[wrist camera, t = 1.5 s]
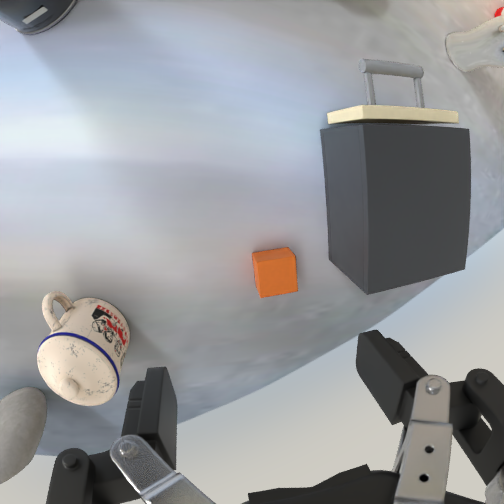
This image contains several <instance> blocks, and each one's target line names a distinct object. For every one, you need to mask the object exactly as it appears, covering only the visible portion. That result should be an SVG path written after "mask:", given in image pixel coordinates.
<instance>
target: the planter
mask: <svg viewBox="0 0 504 504" xmlns="http://www.w3.org/2000/svg"><path fill="white" fill-rule="evenodd" d="M46 417H47V403H46V398H45V396H44V394H43V393H42V392H41V391H40V390H39V389H37V388H34V387H25V388H21V389H18V390H16V391H14V392H12V393H10V394H9V395H7V396H6V397H4V398H3V399H2V400H1V401H0V484H1V483H3V482H5V481H7V480H9V479H10V478H12V477H13V476H15V475H16V474H18V473H19V472H20V471H21V470H23V469H24V468H25V466H27V465H28V464H29V463H30V462H31V460H32V458H33V457H34V455H35V452H36V450H37V447H38V445H39V442H40V439H41V437H42V434H43V431H44V427H45V423H46Z"/></svg>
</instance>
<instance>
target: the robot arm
mask: <svg viewBox="0 0 504 504" xmlns="http://www.w3.org/2000/svg"><path fill="white" fill-rule="evenodd" d="M76 1H77V0H0V20H1V21H3V22H4V23H6V24H8V25H10V26H11V27H13V28H14V29H15V30H17V31H18V32H20V33H22V34H26V35H33V34H38V33H41V32H43V31H46V30H48V29H49V28H51V27H53V26H54V25H56V24H57V23H58V22H60V21H61V20H62V19H63V18H64V17H65V16H66V15H67V14H68V13H69V12H70V10H71V9H72V8H73V6H74V5H75V3H76ZM356 368H357V371H358V374H359V376H360V377H361V379H362V380H363V382H364V383H365V385H366V386H367V388H368V389H369V391H370V392H371V394H372V395H373V397H374V398H375V400H376V401H377V403H378V404H379V406H380V407H381V409H382V410H383V412H384V413H385V415H386V416H387V418H388V420H389V421H390V422H391V424H392V425H394V424H397V423H399V422H402V423H403V424H404V427H403V430H402V434H401V439H400V443H399V447H398V451H397V455H396V459H395V463H394V466H393V469H392V471H383V470H375V471H374V470H373V471H370V469H369V467H368V466H367V464H366V465H362V466H360V467H356V468H353V469H350V470H347V471H344V472H341V473H338V474H336V475H335V476H333V477H331V478H329V479H327V480H325V481H323V482H321V483H319V484H318V485H315V486H313V487H307V488H276V489H271V490H266V491H260V492H253V493H248V497H249V501H247V502H244V503H242V504H504V385H503V384H502V383H501V382H500V381H499V380H498V379H497V378H496V377H495V376H494V375H493V374H492V373H491V372H490V371H488V370H485V369H473V370H471V371H470V372H469V373H468V374H467V377H466V379H465V381H458V382H451V383H448V381H446V379H444V378H443V377H441V376H438V375H428V374H427V373H426V371H425V370H424V369H423V368H422V367H421V366H420V365H419V364H418V363H417V362H416V361H415V360H414V359H413V357H411V356H410V354H409V353H408V352H407V351H405V349H404V348H403V347H402V346H401V345H400V344H399V342H396V341H394V340H393V339H391V338H386V339H385V338H384V337H383V336H382V334H381V333H380V332H379V331H378V330H372V331H368V332H364V333H360V334H359V336H358V346H357V357H356ZM481 415H483V416H484V418H485V419H486V420H487V421H488V423H489V424H490V426H491V428H492V431H491V430H490V429H489V428H488V426H487V425H486V423H485V422H484V421H483V420H482V419H481ZM176 434H177V400H176V395H175V392H174V389H173V386H172V383H171V379H170V376H169V373H168V370H167V368H166V367H155V368H148V369H147V373H146V378H145V381H137V382H136V383H135V385H134V386H133V387H132V389H131V390H130V395H129V401H128V404H127V409H126V414H125V419H124V424H123V430H122V435H121V437H120V438H118V439H116V440H115V441H114V442H113V443H112V445H111V447H110V450H108V451H105V452H102V453H98V454H93V455H89V456H88V455H87V454H86V453H85V452H84V451H83V450H81V449H78V448H70V449H67V450H64V451H63V452H61V453H60V454H59V455H58V456H57V458H56V460H55V464H54V468H53V472H52V477H51V482H50V486H49V491H48V496H47V501H46V504H120V503H124V502H128V501H132V500H136V499H140V498H141V499H142V500H143V501H144V502H145V504H216V503H214V502H213V501H212V500H211V499H210V498H208V497H207V496H206V495H205V494H204V493H203V492H201V491H200V490H199V489H198V488H197V487H196V486H195V485H194V484H193V483H191V482H190V481H189V480H188V479H187V478H186V477H185V476H184V475H182V474H181V473H176V472H175V471H174V470H176V436H177V435H176ZM452 434H453V436H454V437H455V439H456V440H457V442H458V443H459V445H460V446H461V448H462V449H463V451H464V452H465V454H466V455H467V457H468V458H469V459H470V461H471V463H472V464H473V466H474V467H475V469H476V470H477V471H478V473H479V475H480V476H481V478H482V479H483V481H484V483H485V484H486V486H487V487H486V491H485V496H486V501H485V503H483V502H480V501H476V500H473V499H469V498H466V497H463V496H460V495H457V494H454V493H451V492H447V491H446V485H447V478H448V471H449V463H450V454H451V444H452Z"/></svg>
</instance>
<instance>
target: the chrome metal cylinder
mask: <svg viewBox="0 0 504 504" xmlns="http://www.w3.org/2000/svg"><path fill="white" fill-rule="evenodd" d="M446 49H447V53H448V55H449V57H450V59H451V61H452V62H453V64H454V65H455V66H456V67H457V68H458V69H459V70H461V71H463V72H471V71H474V70H476V69H478V68H481V67H497V68H504V15H501V16H498V17H495V18H493V19H491V20H488V21H487V22H485V23H483V24H481V25H480V26H478V27H476V28H474V29H472V30H469V31H465V32H453V33H450V34H449V35H448V36H447V38H446Z"/></svg>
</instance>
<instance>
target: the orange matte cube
mask: <svg viewBox="0 0 504 504" xmlns="http://www.w3.org/2000/svg"><path fill="white" fill-rule="evenodd" d="M252 258H253V266H254V274H255V282H256V288H257V290H258V292H259V295H260V297H261V298H264V297H269V296H275V295H280V294H286V293H291V292H296V291H298V285H297V271H296V257H295V255H294V254H293V253H292V251H291V250H290V249H289V248H288V247H286V248H280V249H273V250H267V251H261V252H255V253H252Z"/></svg>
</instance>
